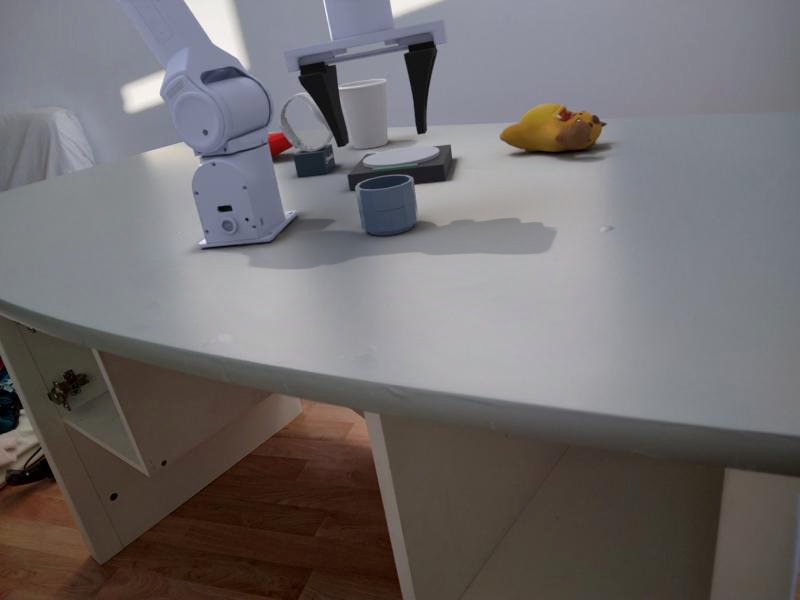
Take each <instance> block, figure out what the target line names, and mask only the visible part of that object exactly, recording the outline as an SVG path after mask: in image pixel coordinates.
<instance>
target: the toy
mask: <svg viewBox="0 0 800 600" xmlns="http://www.w3.org/2000/svg"><path fill="white" fill-rule="evenodd" d="M607 125H608V123H607V122H605V121H601V119H600V118H599V116H597V115H596V114H592V113H590V112H588V111H585V110H580V111H577V112H573V111H572V110H570V109H569V108H568V107H566V106H565V105H561V104H559V103H555V102H554V103H553V102H546V103H540V104H538V105H536V106H534V107H532V108H531V109H529V110H528V111H527V112H526V113H525V114H523V116H522V118H521V119H520V120H519V122H517V123H515V124H511V125H508V126H507V127H505V128H504V129H503V130H502V132H501V133H500V134H499V139H500V140H501V142H504V143H506V144H507V145H508V146H511V147H514V148H517V149H519V150H524V151H527V152H531V153H533V152H539V151H541V152H550V153H551V152H554V153H555V152H564V151H579V150H584V151H587V150H589V149H591V148H592V147H593V146H595V145H596V141H598V139H599V138H600V136H601V134H602V130H603V128H604V127H605V126H607Z"/></svg>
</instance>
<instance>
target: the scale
mask: <svg viewBox="0 0 800 600" xmlns="http://www.w3.org/2000/svg"><path fill="white" fill-rule="evenodd" d="M452 161H453V152H452V144H451V143H450V144H442V145H433V146H429V145H416V146H415V145H414V146H404V147H398V148H392V149H387V150H383V151H379V152H372V153H366V154H364V156H363V157H362V158H361V159H360V160H359V161H358V163H356V165H354V167H352V169H351V170H350V171H349V172H348V173H347V175H346V176H347V182H348V186H349V191H356V190H355V187H356V185H357V184H358V183H360V182H362V181H365V180H367V179H371V178H376V177H380V176H387V175H409V176H411V177H413V179H414V185H415V184H424V183H434V182H444V181H446V179H447V176H448V173H449V170H450V167H451V164H452Z"/></svg>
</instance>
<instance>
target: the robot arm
mask: <svg viewBox="0 0 800 600" xmlns="http://www.w3.org/2000/svg"><path fill="white" fill-rule="evenodd" d="M115 1H116V2H117V4H118V5H119V6H120V8H121V10H122V11H123V12H124V14H125V16H126V17H127V18H128V21H130V23H131V24H132V25H133V27H134V28H135V30H136V31H137V33H138V34H139V35H140V37H141V38H142V40H143V41H144V43H145V44H146V45H147V47H148V48H149V50H150V51H151V53H152V54H153V55H154V57H155V58H156V60H157V62H158V63H159V64H160V66H161V67H162V69H163V70H164V71H165V73H164V77H163V79H162V82H161V87H160V90H159V96H160V98H161V99H162V100H163V102H164V103H165V105H166V106H167V109H168V111H169V113H170V116H171V120H172V124H173V127H174V130H175V131H176V133H177V135H178V137H179V138H180V140H181V141H183V143H184V144H185V145H186V146H188V147H189V148H191V149H192V150H193V154H194V157H198V160H199V166H198V167H197V169H196V170H195V172H194V173H193V176H192V179H191V191H192V195H193V199H194V203H195V207H196V210H197V214H198V217H199V222H200V225H201V229H202V232H203V236H204V238H203V239H202V240H201V241H199V242H198V247H199V248H201V249H203V248H204V249H205V248H214V247H223V246H234V245H235V246H237V245H246V244H256V243H268V242H272V241H273V240H274V239H275V238H276V237H277V236H278V235H279V234H280V233H281V232H282V231H283V229H285V228H286V227H287V225H288V224H289V223H291V222H292V220H294V218H295V217H296V216H297V215H298V211H297V210H284V206H283V202H282V198H281V193H280V188H279V184H278V179H277V174H276V170H275V167H274V162H273V158H272V156H271V152H270V147H269V143H268V142H267V141H268V138H269V134H270V133H269V130H268V128H269V127H270V125H271V124H272V122H273V119H274V114H275V106H274V105H275V104H274V100H273V97H272V95H271V92H270V90H269V89H268V87H267V86H266V84H264V82H263V81H262V80H260V79H259V78H257V77H256V76H254V75H252V74H251V73H250V72H248V71H247V69H246V68H245V66H244V65H243V64H242V62H241V61H240V60H239V58H238V57H237V56H234V54H233V55H232V54H231V53H229V52H228V51H226V50H224V49H222V48H221V47H219V46H218V45H216V44H215V43H213V41H212V40H211V38H210V37H209V35H208V34H207V32H206V30H205V29H204V28H203V27H202V25H201V24H200V22H199V20H198V19H197V18H196V16H195V14H194V13H193V12H192V10H191V9H190V7H189V6H188V4H187V3H186V1H185V0H115ZM322 1H323V5H324V6H323V7H324V10H325V16H326V21H327V25H328V30H329V35H330V41H325V42H320V43H313V44H309V45H304V46H300V47H294V48H290V49H288V48H287V49H283V55H284V59H285V64H286V67H287V68H286V69H287V72H288V73H293V72H298V71H300V72H299V75H298V76H297V79H298V82H299V83H300V86H302V88H303V89H304V91H306V92H308V94H309V95H310V96H311V98H312V99H313V100H314V102H315V103H316V105H317V106H318V108H319V109H320V111H321V113H322V114H323V116H324V118H325V120H326V121H327V123H328V125H329V127H330V129H331V131H332V134H333V138H334V142H335V144H336V147H337V148H342V147H346V146H347V145H348V144H349V143H350V139H349V133H348V126H347V124H346V123H347V122H346V119H345V115H344V111H343V107H342V103H341V100H340V95H339V88H338V86H339V81H338V70H337V65H336V64H339V63H345V62H350V61H355V60H360V59H366V58H371V57H376V56H381V55H382V56H383V55H386V54H387V55H388V54H392V53H393V54H394V53H398V52H403V51H408V52H405V53H403V58H404V62H405V67H406V71H407V75H408V81H409V86H410V90H411V95H412V103H413V112H414V113H413V114H414V123H415V128H416V134H417V135H425V134H426V133H427V131H428V124H427V123H428V120H427V117H428V116H427V115H428V113H427V112H428V100H429V92H430V85H431V81H432V75H433V72H434V67H435V63H436V59H437V55H438V49H437V46H438V45H443V44H444V45H445V44H447V43H448V42H449V40H448V33H447V26H446V20H445V19H444V18H443V19H438V20H433V21H427V22H422V23H418V24H412V25H407V26H401V27H397V28H396V27H395V22H394V16H393V10H392V4H391V0H322ZM382 42H384V46H388V47H383V48H377V49H373V50H367V51H362V52H356V53H351V54H347V53H348V49H351V48H356V47H361V46H362V47H363V46H367V45H373V44H378V43H382ZM392 45H393V46H392ZM344 54H345V55H344ZM346 54H347V55H346ZM338 55H341V56H338Z"/></svg>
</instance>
